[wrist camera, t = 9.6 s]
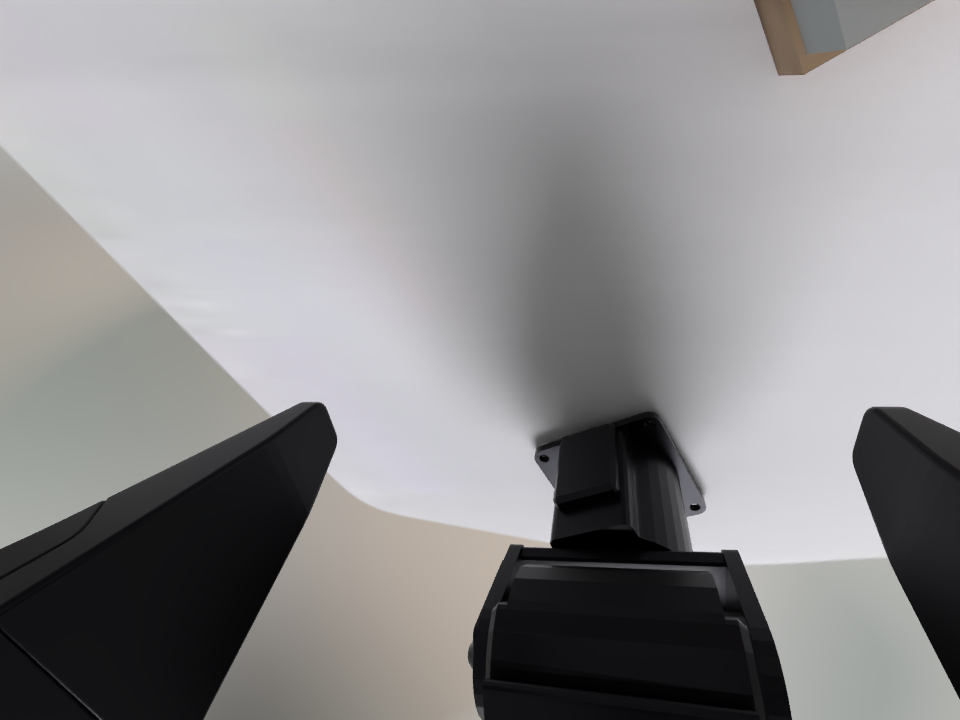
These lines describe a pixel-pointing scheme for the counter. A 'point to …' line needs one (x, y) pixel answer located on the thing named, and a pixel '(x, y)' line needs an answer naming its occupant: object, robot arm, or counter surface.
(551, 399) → the counter surface
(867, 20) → the top slab
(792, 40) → the base slab
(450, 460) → the counter surface
